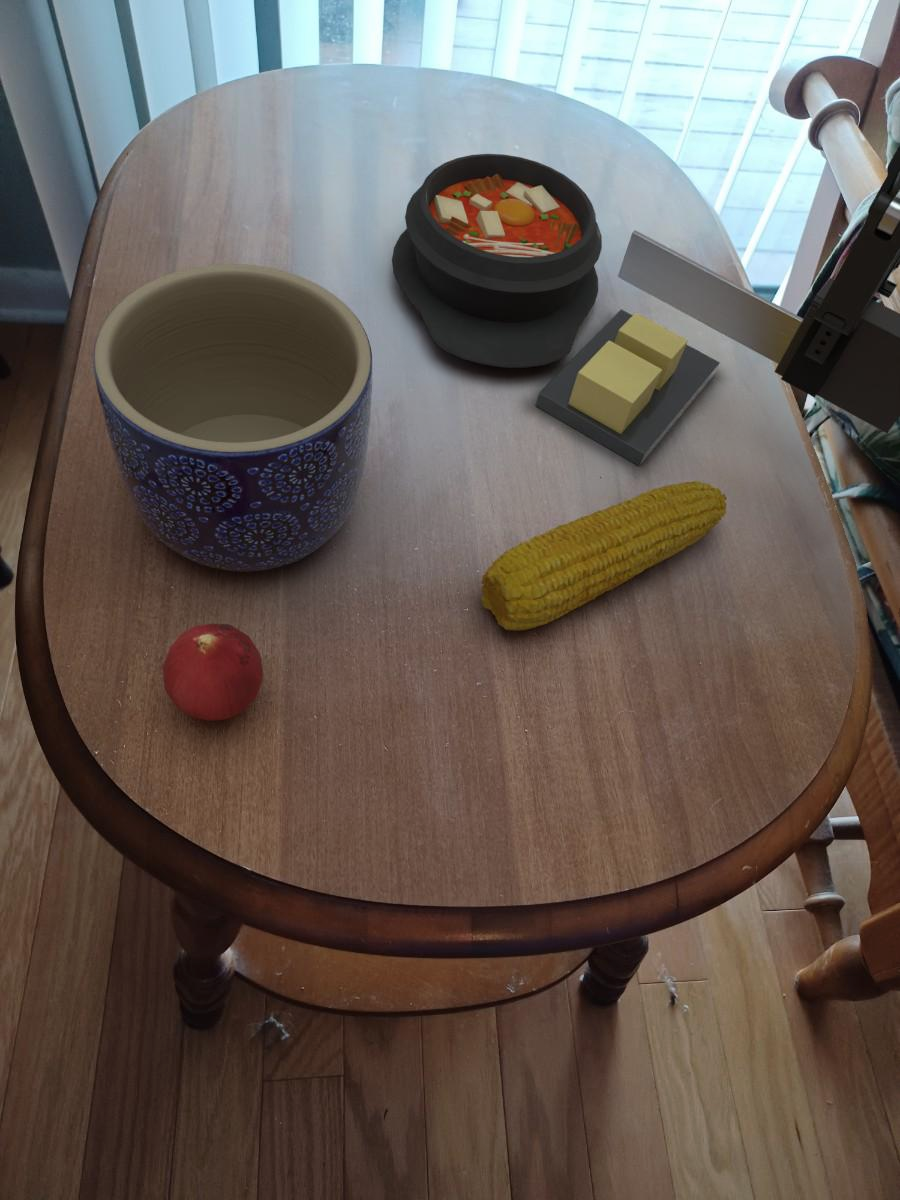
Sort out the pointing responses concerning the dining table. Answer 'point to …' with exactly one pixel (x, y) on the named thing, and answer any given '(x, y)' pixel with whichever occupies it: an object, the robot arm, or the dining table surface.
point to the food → (597, 553)
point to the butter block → (614, 386)
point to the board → (652, 417)
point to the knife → (777, 328)
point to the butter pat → (652, 344)
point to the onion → (213, 672)
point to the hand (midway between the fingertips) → (808, 373)
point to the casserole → (500, 259)
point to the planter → (237, 411)
